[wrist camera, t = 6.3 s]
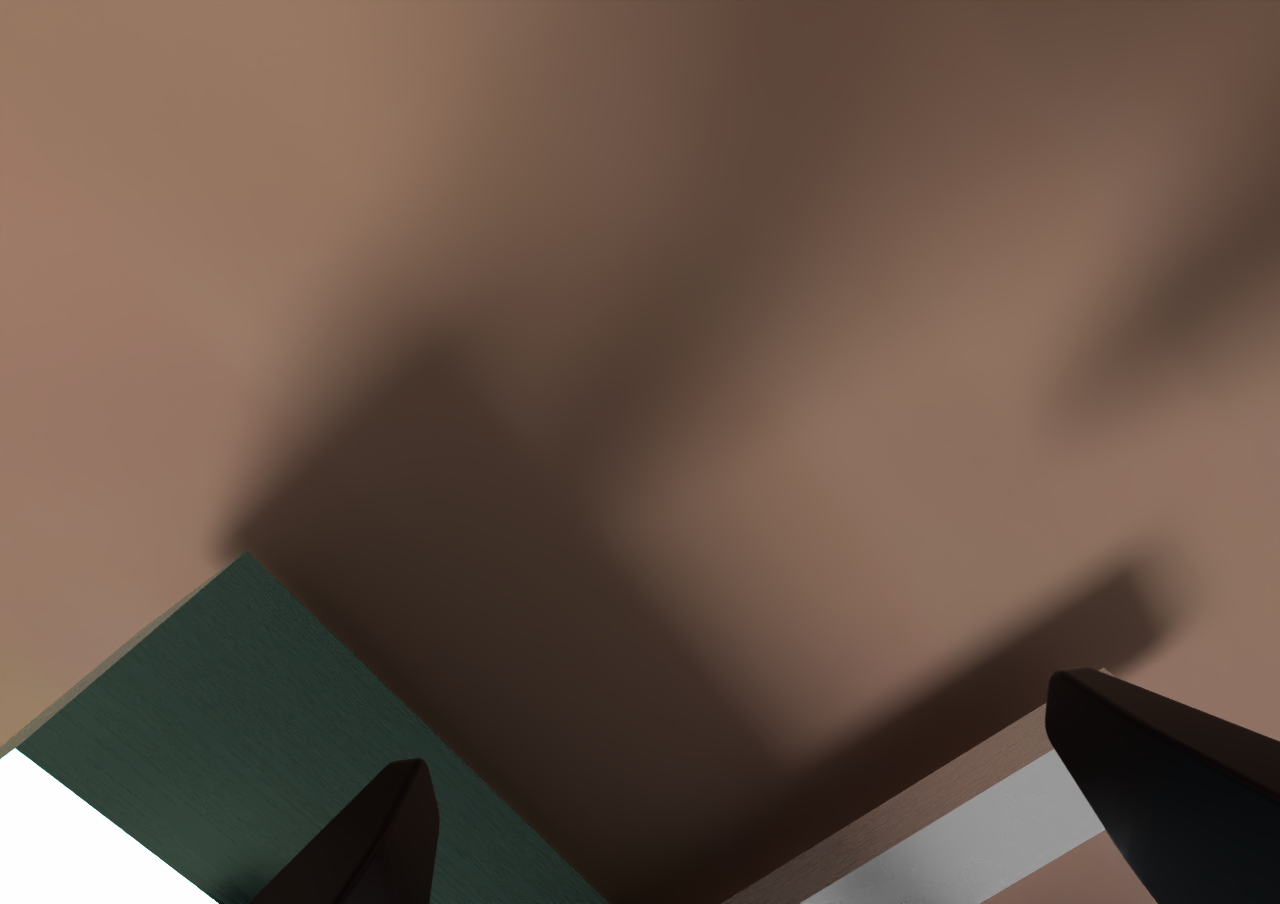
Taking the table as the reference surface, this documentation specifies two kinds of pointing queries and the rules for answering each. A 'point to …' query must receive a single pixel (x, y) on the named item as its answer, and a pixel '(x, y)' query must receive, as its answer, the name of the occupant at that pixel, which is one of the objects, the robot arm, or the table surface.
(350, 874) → the robot arm
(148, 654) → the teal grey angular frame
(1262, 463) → the table surface
